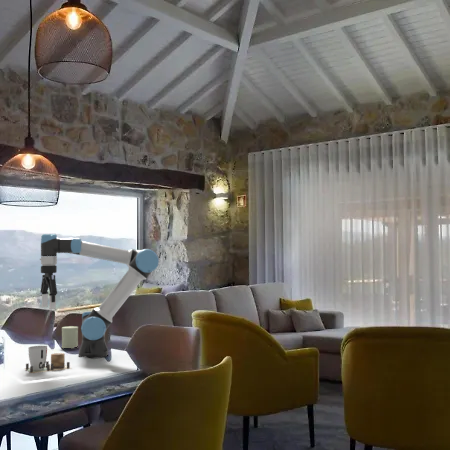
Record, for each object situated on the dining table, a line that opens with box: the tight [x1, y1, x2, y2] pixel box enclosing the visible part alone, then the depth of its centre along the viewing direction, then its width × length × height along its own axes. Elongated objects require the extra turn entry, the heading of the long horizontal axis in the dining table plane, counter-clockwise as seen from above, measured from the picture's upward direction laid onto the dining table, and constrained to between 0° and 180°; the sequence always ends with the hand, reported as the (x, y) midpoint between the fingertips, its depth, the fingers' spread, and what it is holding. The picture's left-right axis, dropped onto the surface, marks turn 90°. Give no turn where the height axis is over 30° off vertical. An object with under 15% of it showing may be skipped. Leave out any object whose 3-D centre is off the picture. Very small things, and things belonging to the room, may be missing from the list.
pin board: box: [24, 360, 73, 374], centre depth 255 cm, size 18×13×4 cm
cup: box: [28, 345, 48, 371], centre depth 252 cm, size 8×8×10 cm
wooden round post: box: [50, 352, 66, 369], centre depth 257 cm, size 6×6×6 cm
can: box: [61, 325, 79, 349], centre depth 323 cm, size 9×9×12 cm
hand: (48, 308), depth 277 cm, fingers open, 13 cm apart
